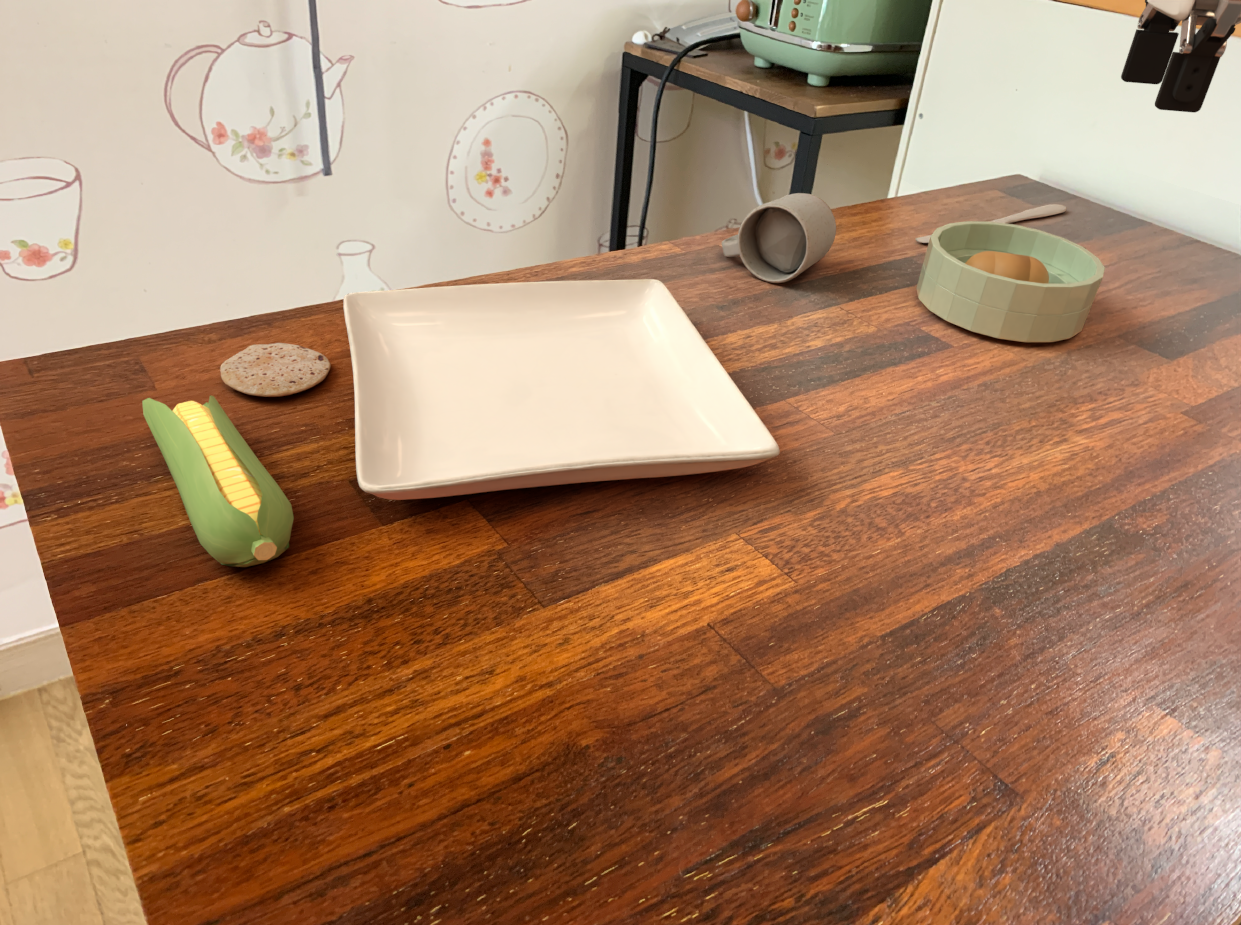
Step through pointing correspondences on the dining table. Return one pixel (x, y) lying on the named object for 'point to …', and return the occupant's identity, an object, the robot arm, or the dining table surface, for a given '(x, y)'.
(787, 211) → the ceramic mug
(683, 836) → the dining table surface
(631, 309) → the square plate
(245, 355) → the flatbread
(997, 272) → the tan rounded oval piece
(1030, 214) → the butter knife
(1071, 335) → the bowl
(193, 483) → the edible corn
